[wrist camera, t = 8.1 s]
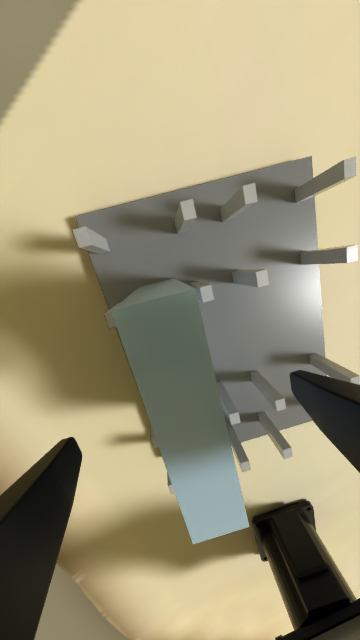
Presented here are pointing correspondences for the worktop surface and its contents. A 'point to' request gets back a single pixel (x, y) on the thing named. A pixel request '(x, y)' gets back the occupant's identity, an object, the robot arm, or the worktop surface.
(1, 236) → the worktop surface
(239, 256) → the dish rack
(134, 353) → the light blue rectangular slab
